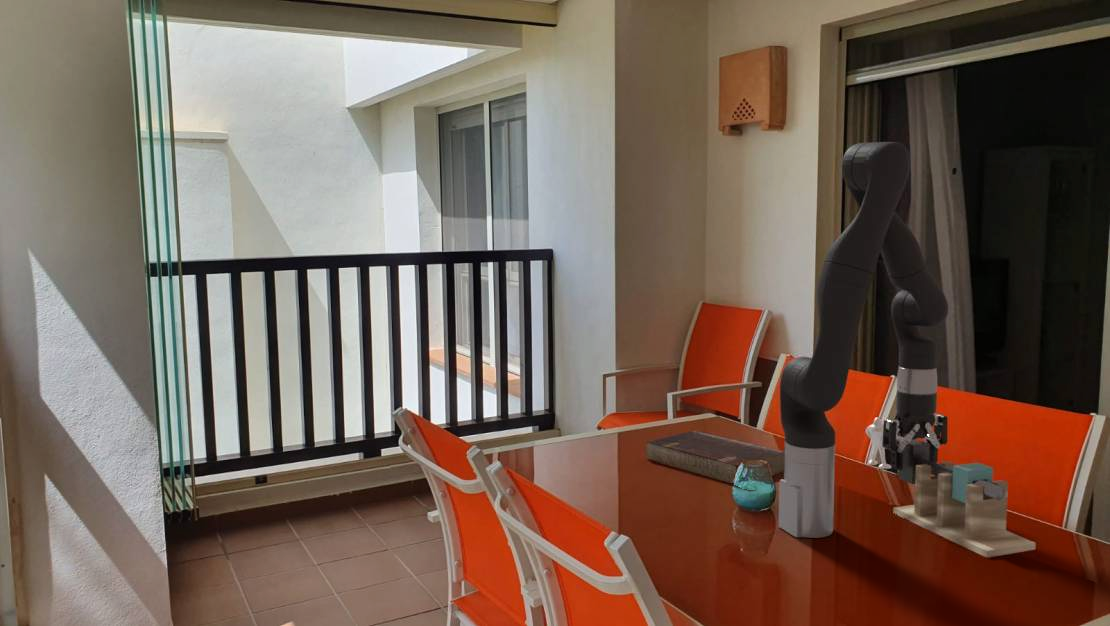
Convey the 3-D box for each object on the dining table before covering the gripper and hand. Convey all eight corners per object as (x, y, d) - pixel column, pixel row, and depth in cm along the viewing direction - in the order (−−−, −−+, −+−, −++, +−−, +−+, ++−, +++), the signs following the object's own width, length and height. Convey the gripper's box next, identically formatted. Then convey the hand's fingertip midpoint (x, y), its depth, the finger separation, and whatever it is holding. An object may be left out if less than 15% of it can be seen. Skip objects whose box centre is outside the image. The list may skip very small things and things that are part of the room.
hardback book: (789, 471, 203) (790, 450, 203) (741, 488, 191) (741, 466, 191) (695, 447, 225) (695, 428, 225) (646, 461, 213) (646, 441, 212)
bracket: (893, 513, 173) (895, 460, 171) (937, 507, 176) (939, 455, 175) (986, 557, 150) (989, 497, 149) (1035, 549, 153) (1038, 490, 152)
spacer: (952, 497, 161) (953, 465, 160) (976, 494, 162) (978, 462, 162) (966, 503, 157) (968, 471, 156) (991, 500, 159) (993, 467, 158)
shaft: (898, 478, 176) (899, 440, 175) (914, 476, 177) (915, 438, 176) (990, 516, 153) (992, 473, 152) (1008, 514, 154) (1010, 471, 153)
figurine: (895, 469, 202) (896, 419, 201) (881, 471, 201) (883, 421, 199) (872, 461, 209) (874, 413, 207) (859, 463, 207) (861, 415, 206)
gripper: (900, 395, 167) (898, 476, 168) (959, 389, 171) (956, 468, 173) (874, 388, 174) (872, 466, 176) (932, 382, 178) (929, 458, 180)
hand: (914, 467), depth 174 cm, fingers open, 8 cm apart
